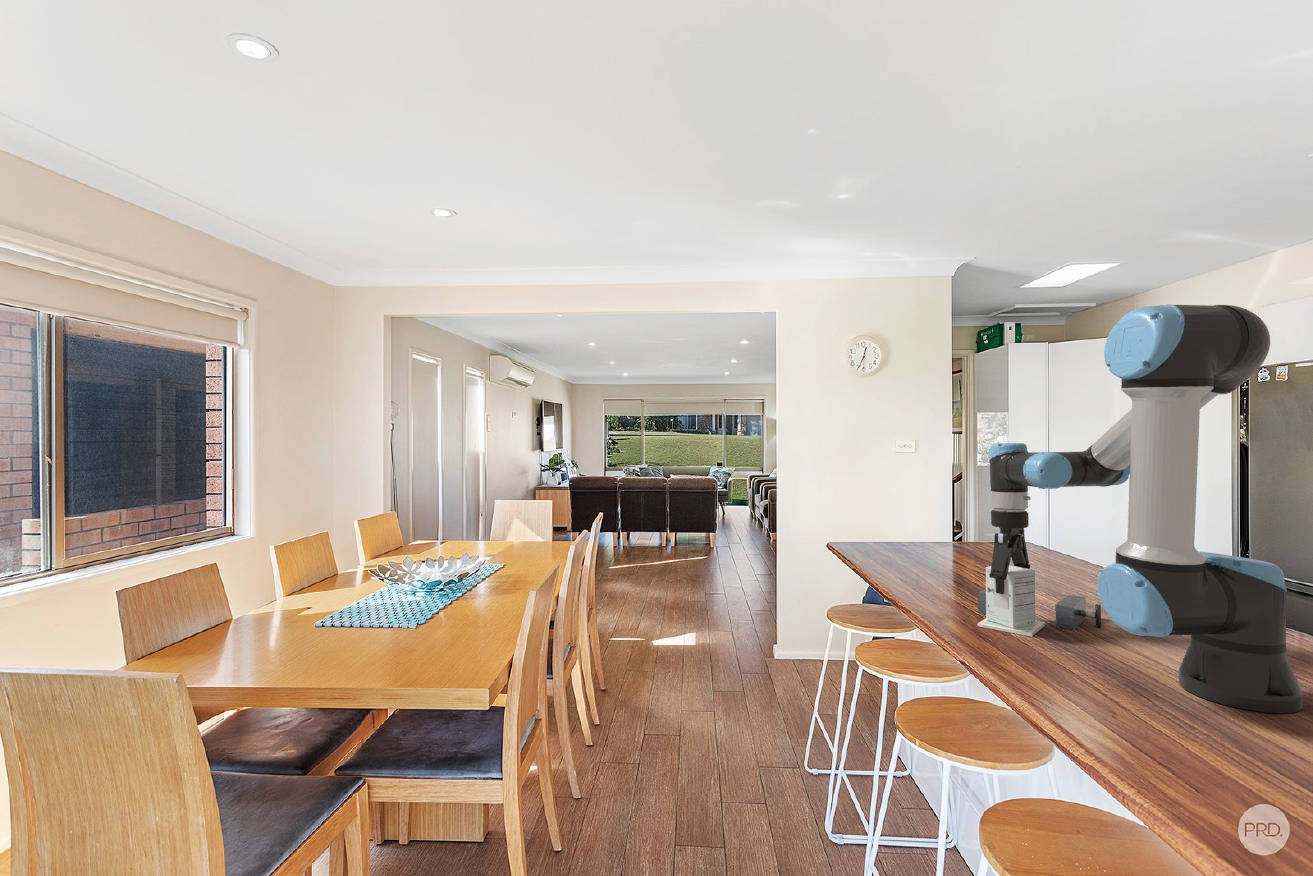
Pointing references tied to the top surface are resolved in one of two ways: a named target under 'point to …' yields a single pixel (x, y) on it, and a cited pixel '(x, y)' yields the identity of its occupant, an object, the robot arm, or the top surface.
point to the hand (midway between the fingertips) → (1011, 601)
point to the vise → (1061, 610)
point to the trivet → (1022, 630)
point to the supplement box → (1013, 598)
